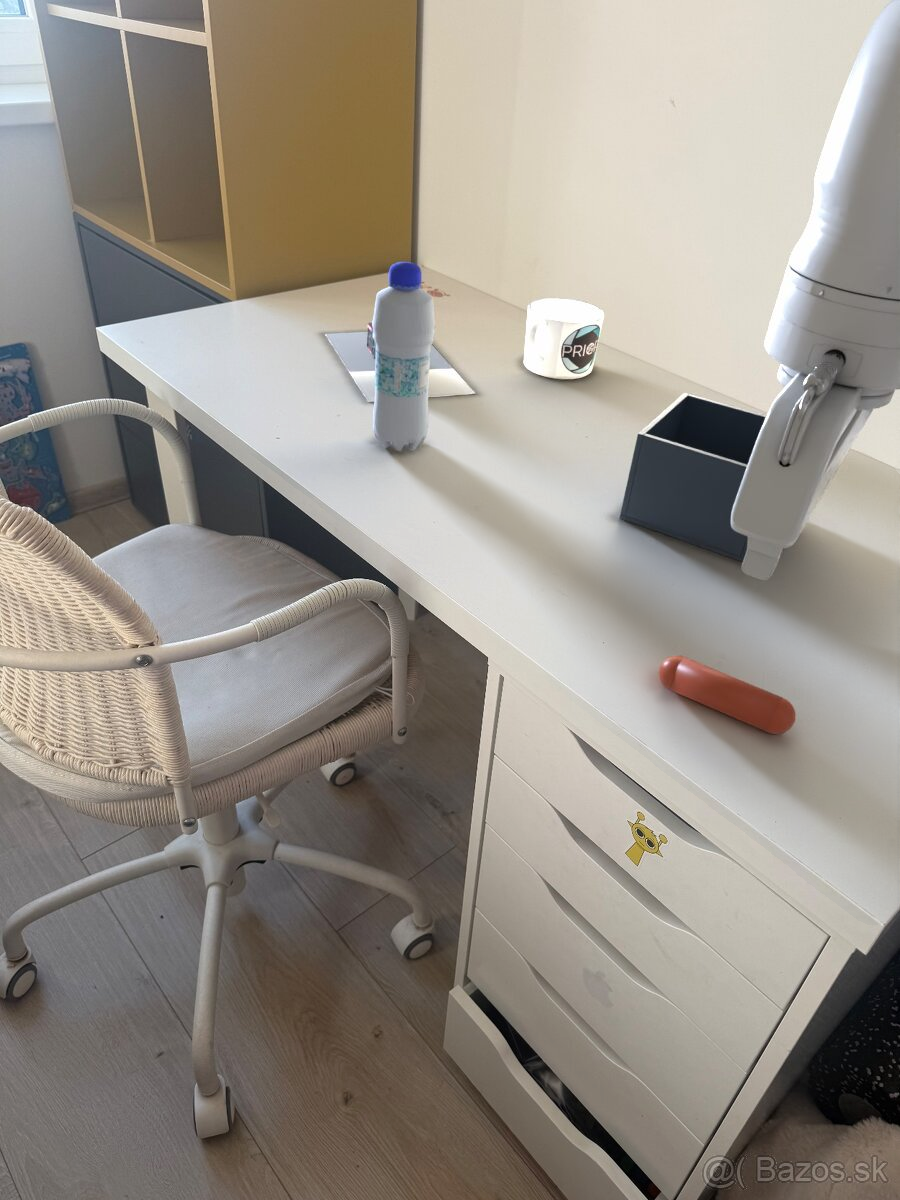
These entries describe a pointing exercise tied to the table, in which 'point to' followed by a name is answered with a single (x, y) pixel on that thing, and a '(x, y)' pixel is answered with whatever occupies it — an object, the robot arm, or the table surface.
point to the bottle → (402, 358)
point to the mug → (562, 337)
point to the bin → (692, 473)
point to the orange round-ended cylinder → (727, 694)
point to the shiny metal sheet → (360, 363)
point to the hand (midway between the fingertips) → (777, 539)
